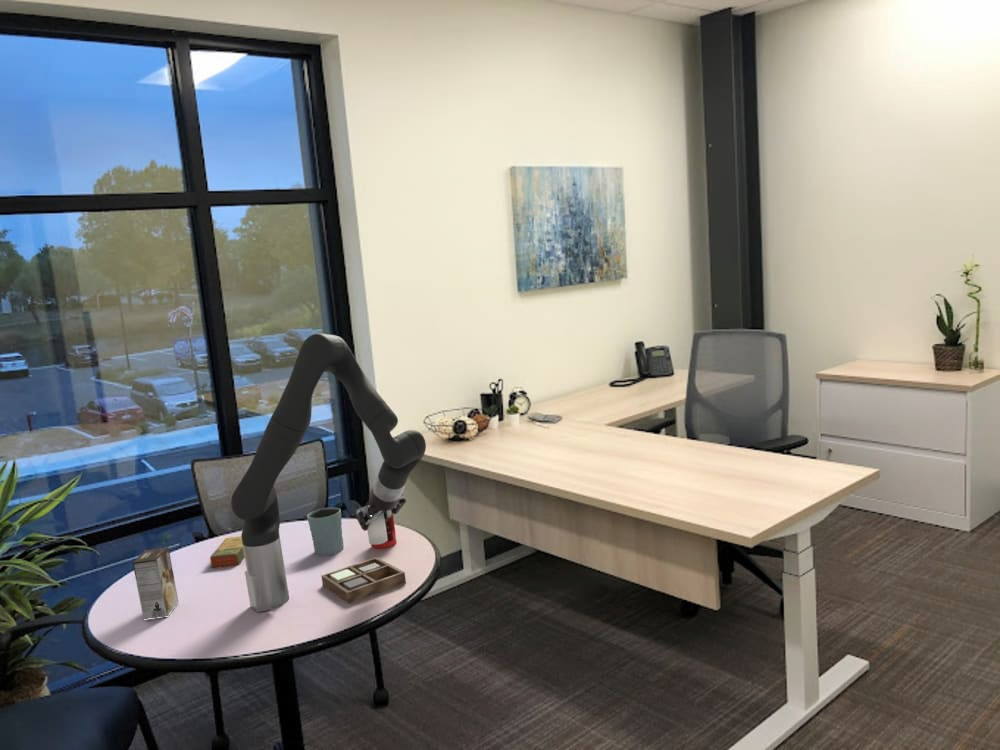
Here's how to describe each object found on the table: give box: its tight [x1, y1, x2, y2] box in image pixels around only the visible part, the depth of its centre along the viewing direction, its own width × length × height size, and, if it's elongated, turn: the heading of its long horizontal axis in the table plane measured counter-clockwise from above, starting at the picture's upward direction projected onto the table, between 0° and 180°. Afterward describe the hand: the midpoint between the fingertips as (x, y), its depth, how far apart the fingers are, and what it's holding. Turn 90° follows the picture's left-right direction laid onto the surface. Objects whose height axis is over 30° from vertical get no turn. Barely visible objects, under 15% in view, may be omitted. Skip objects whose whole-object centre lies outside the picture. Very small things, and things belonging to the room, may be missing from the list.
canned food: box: [370, 513, 397, 550], centre depth 241 cm, size 8×8×11 cm
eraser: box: [343, 577, 368, 591], centre depth 207 cm, size 5×4×3 cm
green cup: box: [306, 507, 344, 557], centre depth 243 cm, size 10×10×12 cm
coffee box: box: [132, 546, 180, 620], centre depth 210 cm, size 9×6×16 cm
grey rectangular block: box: [358, 563, 381, 573], centre depth 218 cm, size 5×4×2 cm
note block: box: [330, 569, 356, 582], centre depth 214 cm, size 5×5×3 cm
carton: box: [209, 535, 245, 569], centre depth 247 cm, size 8×16×4 cm, turn 2°
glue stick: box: [366, 513, 388, 545], centre depth 210 cm, size 5×5×10 cm
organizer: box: [320, 557, 407, 604], centre depth 213 cm, size 16×16×4 cm
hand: (372, 524), depth 212 cm, fingers closed on glue stick, 4 cm apart
